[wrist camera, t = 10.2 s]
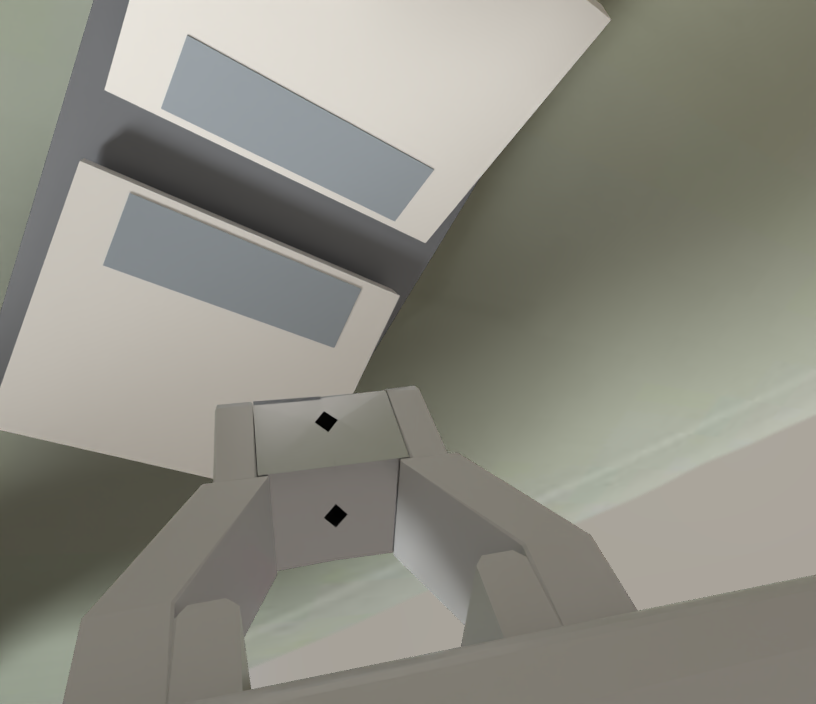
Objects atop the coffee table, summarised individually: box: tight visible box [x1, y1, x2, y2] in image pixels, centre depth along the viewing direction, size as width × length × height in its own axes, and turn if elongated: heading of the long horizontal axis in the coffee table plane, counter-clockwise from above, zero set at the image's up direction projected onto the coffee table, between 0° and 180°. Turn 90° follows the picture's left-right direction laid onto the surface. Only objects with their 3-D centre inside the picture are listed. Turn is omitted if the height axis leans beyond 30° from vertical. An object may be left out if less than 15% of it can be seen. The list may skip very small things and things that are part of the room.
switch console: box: [0, 0, 480, 386], centre depth 23 cm, size 23×13×7 cm, turn 149°
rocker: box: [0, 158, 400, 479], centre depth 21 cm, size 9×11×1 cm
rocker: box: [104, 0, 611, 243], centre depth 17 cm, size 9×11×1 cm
